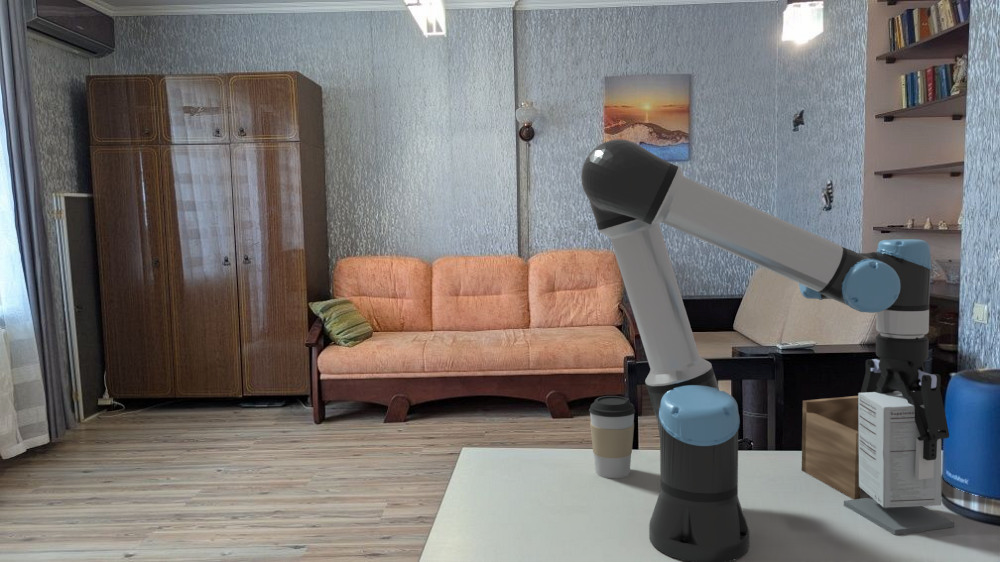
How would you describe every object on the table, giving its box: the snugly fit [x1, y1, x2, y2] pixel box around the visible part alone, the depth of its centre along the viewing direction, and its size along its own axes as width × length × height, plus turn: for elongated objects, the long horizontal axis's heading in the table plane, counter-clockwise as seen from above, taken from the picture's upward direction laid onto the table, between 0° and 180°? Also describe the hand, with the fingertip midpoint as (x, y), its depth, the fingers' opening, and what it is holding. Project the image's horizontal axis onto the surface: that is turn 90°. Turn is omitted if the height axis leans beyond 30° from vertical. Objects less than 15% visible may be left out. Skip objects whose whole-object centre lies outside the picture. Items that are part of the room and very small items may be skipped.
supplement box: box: [857, 390, 942, 508], centre depth 121 cm, size 10×9×17 cm
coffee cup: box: [588, 395, 636, 479], centre depth 144 cm, size 9×9×15 cm
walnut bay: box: [801, 395, 862, 500], centre depth 137 cm, size 14×15×14 cm
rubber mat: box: [843, 496, 955, 536], centre depth 122 cm, size 11×12×1 cm
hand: (898, 466), depth 121 cm, fingers closed on supplement box, 10 cm apart
